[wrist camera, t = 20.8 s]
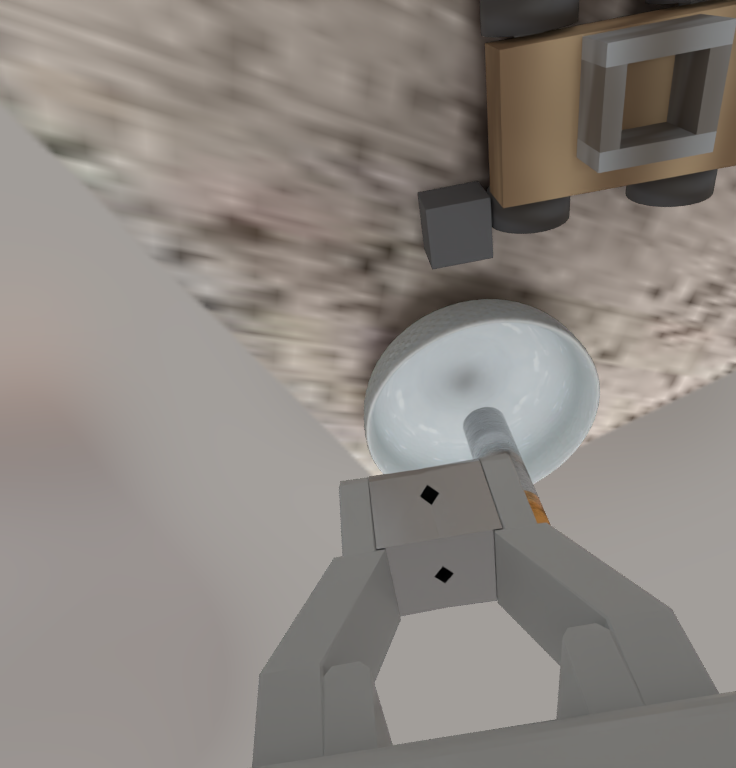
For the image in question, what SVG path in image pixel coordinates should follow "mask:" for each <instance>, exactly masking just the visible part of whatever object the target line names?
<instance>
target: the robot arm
mask: <svg viewBox="0 0 736 768" xmlns="http://www.w3.org/2000/svg"><path fill="white" fill-rule="evenodd" d="M339 498H340V517H341V536H342V554H343V556H341V557H336V558H334V559H333V560H332V562H331V564H330V565H329V567H328V568H327V570H326V571H325V573H324V575H323V576H322V578H321V579H320V581H319V582H318V584H317V585H316V587H315V589H314V590H313V592H312V593H311V595H310V597H309V598H308V600H307V601H306V603H305V604H304V606H303V607H302V609H301V611H300V612H299V614H298V615H297V617H296V618H295V620H294V621H293V623H292V625H291V626H290V628H289V629H288V631H287V633H286V634H285V635H284V637H283V639H282V640H281V642H280V643H279V645H278V647H277V648H276V650H275V651H274V653H273V654H272V656H271V657H270V659H269V661H268V662H267V664H266V665H265V667H264V668H263V670H262V671H261V673H260V675H259V685H258V698H257V711H256V724H255V736H254V749H253V762H252V768H736V691H734V692H728V693H721V694H719V692H718V690H717V689H716V687H715V685H714V683H713V681H712V680H711V678H710V676H709V674H708V673H707V671H706V669H705V667H704V665H703V664H702V662H701V660H700V658H699V656H698V655H697V653H696V651H695V649H694V648H693V646H692V644H691V642H690V640H689V639H688V637H687V635H686V633H685V631H684V630H683V628H682V626H681V625H680V623H679V621H678V619H677V617H676V616H675V614H674V612H673V610H672V609H671V608H669V607H668V606H667V605H665V604H664V603H662V602H661V601H660V600H658V599H657V598H655V597H654V596H652V595H651V594H649V593H648V592H647V591H645V590H643V589H642V588H641V587H639V586H638V585H636V584H635V583H633V582H632V581H630V580H629V579H628V578H626V577H625V576H623V575H622V574H620V573H619V572H617V571H616V570H614V569H613V568H612V567H610V566H609V565H607V564H606V563H604V562H603V561H601V560H600V559H599V558H597V557H596V556H594V555H593V554H591V553H590V552H588V551H587V550H585V549H584V548H583V547H581V546H580V545H578V544H577V543H575V542H574V541H573V540H571V539H569V538H568V537H567V536H565V535H564V534H562V533H561V532H559V531H558V530H557V529H555V528H554V527H552V526H551V525H549V524H548V523H538V524H537V521H536V519H535V516H534V514H533V511H532V509H531V507H530V504H529V502H528V499H527V497H526V494H525V492H524V490H523V487H522V485H521V482H520V480H519V477H518V475H517V472H516V470H515V468H514V465H513V463H512V460H511V458H510V456H509V455H508V454H507V453H504V454H498V455H493V456H487V457H482V458H478V459H471V460H466V461H460V462H455V463H449V464H444V465H438V466H432V467H427V468H423V469H417V470H410V471H403V472H397V473H390V474H383V475H376V476H369V478H368V477H367V478H360V479H353V480H346V481H340V486H339ZM497 600H498V604H499V605H500V606H501V607H503V609H504V610H505V611H506V612H507V613H508V614H509V615H510V616H511V617H512V618H513V619H514V620H515V621H516V622H517V623H518V624H519V625H520V626H521V627H522V628H523V629H524V630H525V631H526V632H527V633H528V634H529V635H530V636H531V637H532V638H533V639H534V640H535V641H536V642H537V643H538V644H539V645H540V646H541V647H542V648H543V649H544V650H545V651H546V652H547V653H548V654H549V655H550V656H551V657H552V658H553V659H554V660H555V661H556V662H557V663H558V664H559V665H560V680H559V692H558V693H559V694H558V705H557V719H556V720H549V721H543V722H537V723H530V724H524V725H517V726H511V727H505V728H499V729H493V730H486V731H480V732H473V733H467V734H461V735H454V736H448V737H442V738H435V739H429V740H423V741H416V742H410V743H404V744H398V745H393V744H392V741H391V738H390V734H389V731H388V727H387V724H386V721H385V717H384V714H383V711H382V707H381V704H380V700H379V697H378V694H377V690H376V687H375V680H376V678H377V675H378V673H379V671H380V668H381V666H382V663H383V661H384V659H385V656H386V654H387V651H388V649H389V647H390V644H391V642H392V639H393V637H394V635H395V632H396V630H397V627H398V625H399V622H400V620H401V619H400V616H405V615H410V614H415V613H420V612H425V611H431V610H436V609H441V608H446V607H453V606H461V605H468V604H475V603H483V602H490V601H497Z"/></svg>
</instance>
